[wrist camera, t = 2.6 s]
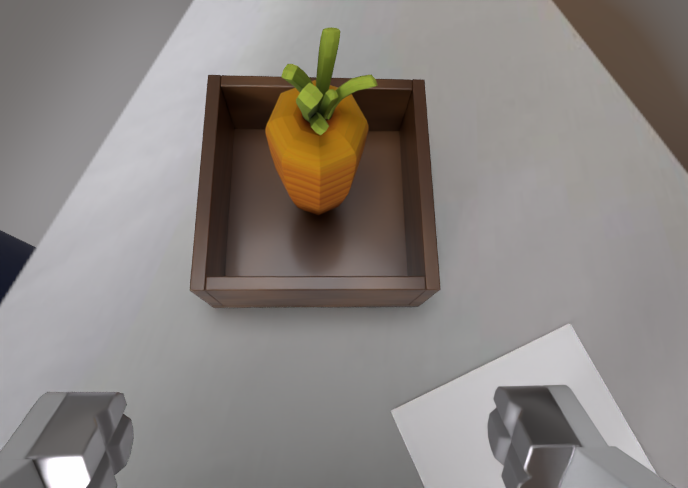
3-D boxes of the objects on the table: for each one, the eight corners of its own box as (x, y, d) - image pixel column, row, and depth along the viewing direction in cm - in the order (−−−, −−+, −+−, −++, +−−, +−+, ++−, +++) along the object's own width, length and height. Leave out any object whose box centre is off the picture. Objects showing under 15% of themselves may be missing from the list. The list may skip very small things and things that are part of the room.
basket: (213, 307, 30) (189, 290, 24) (226, 124, 34) (207, 74, 28) (418, 306, 31) (440, 289, 25) (407, 127, 35) (424, 79, 29)
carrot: (314, 161, 32) (312, -15, 18) (368, 205, 32) (409, 58, 17) (266, 209, 31) (222, 61, 17) (320, 256, 30) (322, 142, 16)
